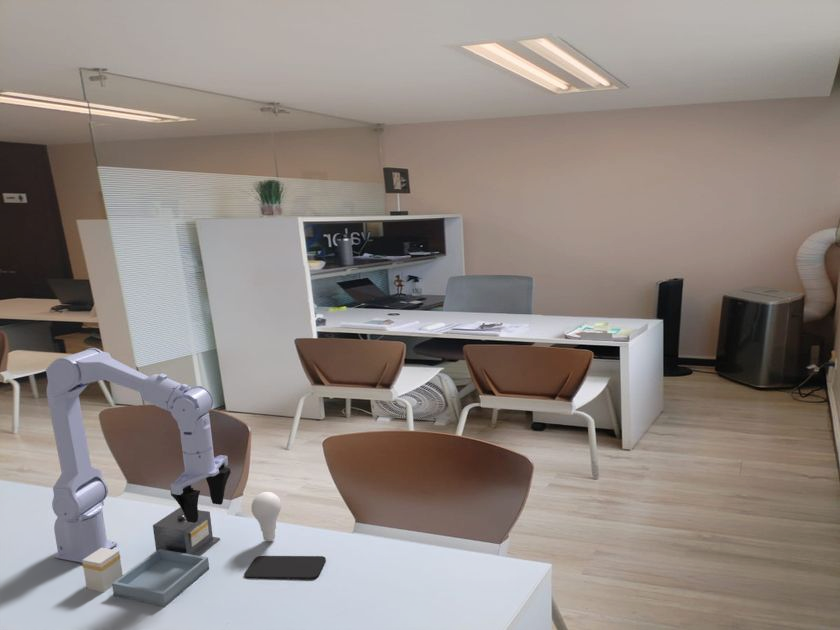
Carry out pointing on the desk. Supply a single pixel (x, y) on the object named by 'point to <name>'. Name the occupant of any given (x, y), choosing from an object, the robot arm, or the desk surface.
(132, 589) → the tray
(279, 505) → the lightbulb
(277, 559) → the phone
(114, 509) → the desk surface
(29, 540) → the desk surface
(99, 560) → the part block
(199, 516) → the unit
